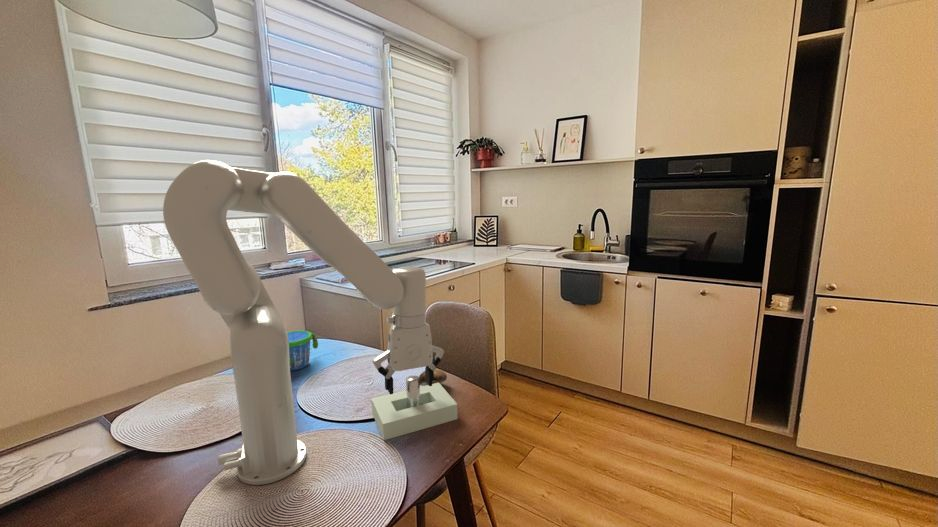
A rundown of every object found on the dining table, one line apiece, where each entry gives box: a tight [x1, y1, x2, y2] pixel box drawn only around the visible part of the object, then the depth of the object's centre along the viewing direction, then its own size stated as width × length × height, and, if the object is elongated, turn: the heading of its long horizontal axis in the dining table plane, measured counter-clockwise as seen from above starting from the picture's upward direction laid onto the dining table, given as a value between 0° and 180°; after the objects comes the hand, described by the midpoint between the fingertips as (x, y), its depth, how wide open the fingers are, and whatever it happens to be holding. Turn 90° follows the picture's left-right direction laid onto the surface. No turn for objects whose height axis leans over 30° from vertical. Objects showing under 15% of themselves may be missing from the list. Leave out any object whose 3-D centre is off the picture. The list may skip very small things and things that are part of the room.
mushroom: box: [418, 369, 448, 387], centre depth 107 cm, size 8×8×6 cm
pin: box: [405, 375, 421, 408], centre depth 93 cm, size 3×3×10 cm
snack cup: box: [286, 329, 319, 371], centre depth 121 cm, size 16×10×10 cm
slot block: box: [371, 383, 458, 441], centre depth 94 cm, size 18×12×4 cm, turn 116°
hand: (409, 387), depth 92 cm, fingers open, 9 cm apart
